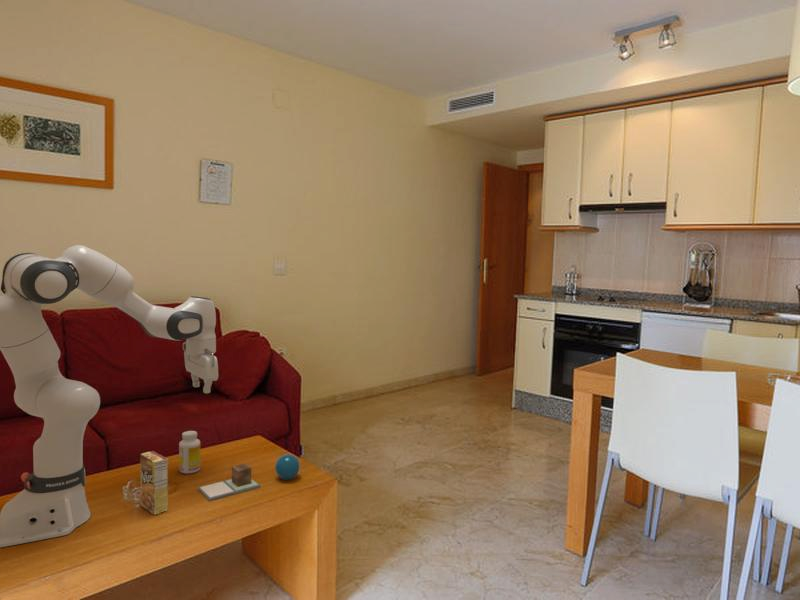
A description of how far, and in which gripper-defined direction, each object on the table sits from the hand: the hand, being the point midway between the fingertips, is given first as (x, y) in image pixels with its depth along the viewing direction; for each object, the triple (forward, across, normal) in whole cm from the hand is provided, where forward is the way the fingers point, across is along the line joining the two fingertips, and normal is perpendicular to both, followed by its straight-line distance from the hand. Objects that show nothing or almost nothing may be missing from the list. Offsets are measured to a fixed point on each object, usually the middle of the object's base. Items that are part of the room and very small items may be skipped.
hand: (201, 389), depth 172 cm
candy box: (+29, -13, +18) cm, 37 cm away
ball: (+29, -17, -22) cm, 40 cm away
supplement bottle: (+29, +8, +1) cm, 30 cm away
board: (+29, -13, -4) cm, 32 cm away
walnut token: (+28, -13, -8) cm, 32 cm away
